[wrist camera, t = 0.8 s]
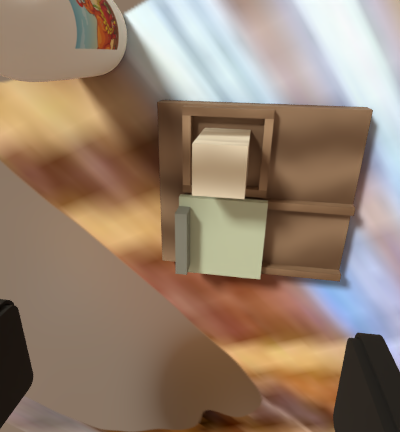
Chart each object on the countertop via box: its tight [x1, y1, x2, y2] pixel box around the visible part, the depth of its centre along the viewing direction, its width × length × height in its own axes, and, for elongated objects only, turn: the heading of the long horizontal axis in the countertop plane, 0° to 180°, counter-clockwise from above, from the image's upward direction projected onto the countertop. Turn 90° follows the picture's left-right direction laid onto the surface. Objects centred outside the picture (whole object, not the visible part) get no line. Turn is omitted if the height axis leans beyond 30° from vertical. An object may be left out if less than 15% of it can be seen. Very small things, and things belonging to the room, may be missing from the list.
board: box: [157, 100, 373, 281], centre depth 37 cm, size 18×20×3 cm
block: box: [192, 128, 251, 199], centre depth 32 cm, size 4×4×7 cm
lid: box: [175, 194, 268, 279], centre depth 37 cm, size 9×9×3 cm
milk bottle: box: [0, 0, 127, 82], centre depth 26 cm, size 8×8×20 cm
